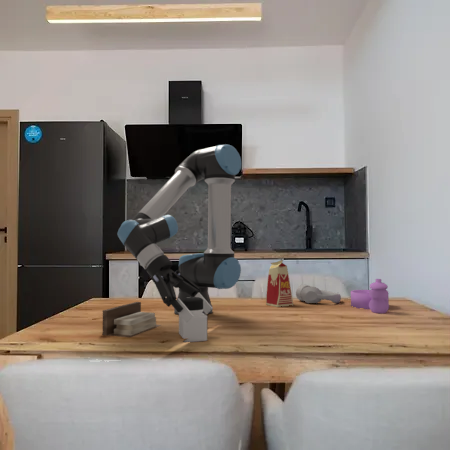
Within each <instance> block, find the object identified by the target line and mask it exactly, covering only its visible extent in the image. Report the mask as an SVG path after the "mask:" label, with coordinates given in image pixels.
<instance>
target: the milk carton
mask: <svg viewBox="0 0 450 450" xmlns="http://www.w3.org/2000/svg"><path fill="white" fill-rule="evenodd" d="M270 264H271V265H270V267H269V269H268V276H267V286H266V297H265V299H266V300H265V305H267V306H271V307H276V308H279V307H281V306H282V307H289V305H292V306H294V299H293V293H292V288H291V282H290V276H289V271H288V266H287V265H286V264H285V263H283V259H281V260H279V261H276V262H270Z"/></svg>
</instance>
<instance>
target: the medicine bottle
mask: <svg viewBox="0 0 450 450" xmlns="http://www.w3.org/2000/svg"><path fill="white" fill-rule="evenodd" d="M183 304H184V305H185V306H186V307H187V308H188V309H189V311H190V312H191V313H192V314H193V315H194V316H193V317H192V318H191V320H190V321H189V322H188V323H186V322H185V321H184V319H183V318H182V317H181V316H180V315H179V314H178V334H179V335H180V337H181V338H182V339H185V340H182V342H183V343H196V342H207V341H208V315H207V314H204V313H202V312H203V299H202V298H200V297H187V298H184V299H183Z"/></svg>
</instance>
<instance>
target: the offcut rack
mask: <svg viewBox="0 0 450 450" xmlns="http://www.w3.org/2000/svg"><path fill="white" fill-rule="evenodd" d="M137 312H142V302H141V301H134V302H130V303H127V304H123V305H118V306H114V307H111V308H106V309H104V310H102V335H103V336H113V337H121V338H132V337H135V336H138V335H140V334H143V333H146V332H148V331H150V330H153V329H155V328H158V327H160V326H162V324H156V326H155V327H152V328H149V329H147V330H144V331H142V332H139V333H136V334H134V335H121V334H114V329H115V328H117V324H114V319H117V318H120V317H124V316H127V315H131V314H134V313H137Z"/></svg>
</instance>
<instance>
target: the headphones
mask: <svg viewBox="0 0 450 450" xmlns="http://www.w3.org/2000/svg"><path fill="white" fill-rule="evenodd" d="M295 295H296V298H297V300H298V301H300V300H301V301H300V302H304V301H305V303H306V304H309V303H316V304H319V303H320V302H321V301H322V300H324V299H326V301H330V302H332V303H333V304H340V303H341V300H342V299H341V298H342V297H341V296H342V295H341V294H340V293H338V292H337V293H336V292H333V291H327V290H323V289H319V288H318V287H316V286H312V285H309V284H300V285H299V286H298V287H297V288H296V291H295Z"/></svg>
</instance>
